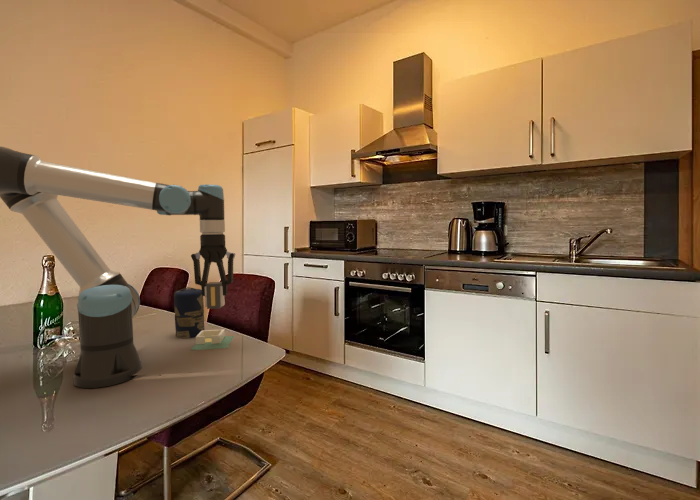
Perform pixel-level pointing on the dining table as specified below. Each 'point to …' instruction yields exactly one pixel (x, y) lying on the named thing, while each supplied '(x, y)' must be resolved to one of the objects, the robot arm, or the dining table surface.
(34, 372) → the dining table surface
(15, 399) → the dining table surface
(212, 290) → the plug
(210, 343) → the board
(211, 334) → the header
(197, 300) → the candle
